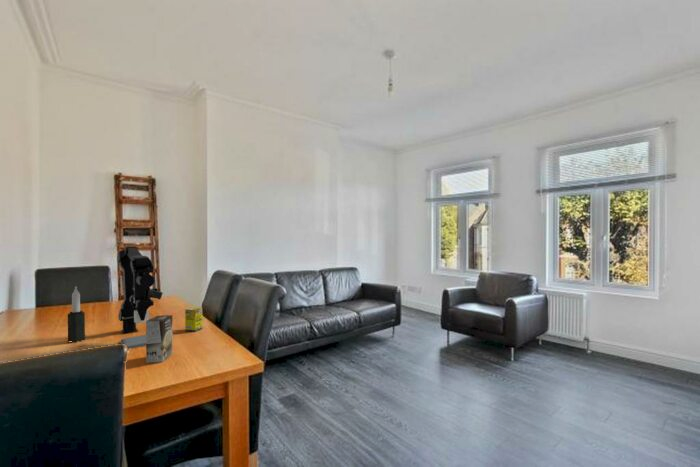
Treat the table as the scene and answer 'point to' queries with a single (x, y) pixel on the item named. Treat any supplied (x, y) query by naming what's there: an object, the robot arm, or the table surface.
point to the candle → (76, 319)
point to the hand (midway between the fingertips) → (141, 319)
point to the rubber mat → (134, 341)
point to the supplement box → (193, 319)
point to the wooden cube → (137, 318)
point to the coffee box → (159, 338)
